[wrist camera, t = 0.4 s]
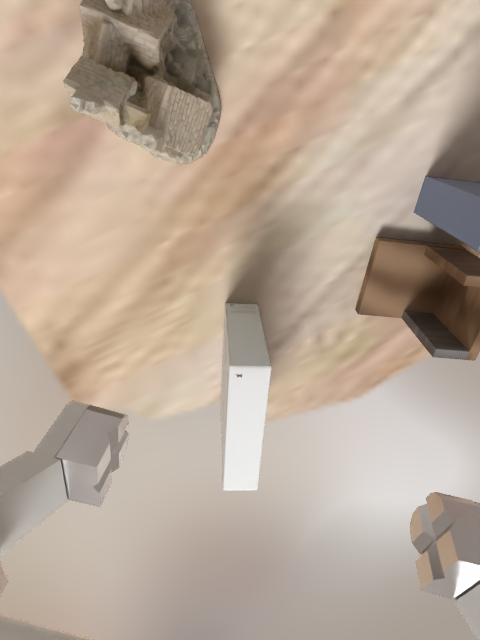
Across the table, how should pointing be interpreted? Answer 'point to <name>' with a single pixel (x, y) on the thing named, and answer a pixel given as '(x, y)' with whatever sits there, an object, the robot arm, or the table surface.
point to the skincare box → (243, 396)
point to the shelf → (426, 293)
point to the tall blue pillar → (452, 208)
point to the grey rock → (147, 76)
